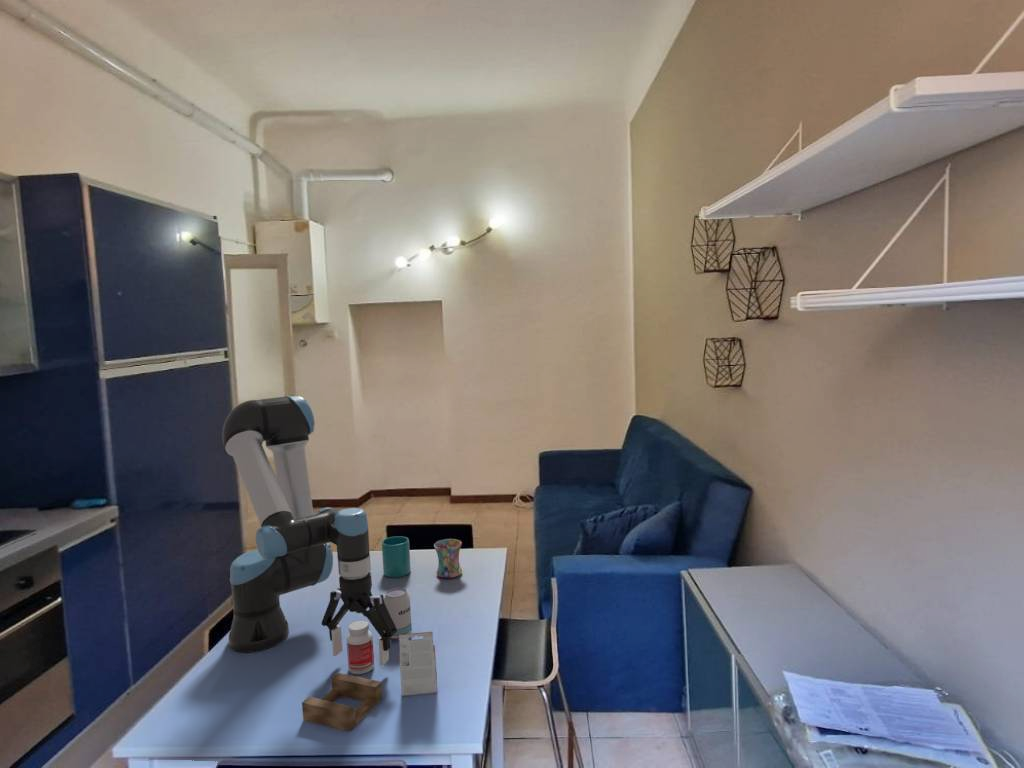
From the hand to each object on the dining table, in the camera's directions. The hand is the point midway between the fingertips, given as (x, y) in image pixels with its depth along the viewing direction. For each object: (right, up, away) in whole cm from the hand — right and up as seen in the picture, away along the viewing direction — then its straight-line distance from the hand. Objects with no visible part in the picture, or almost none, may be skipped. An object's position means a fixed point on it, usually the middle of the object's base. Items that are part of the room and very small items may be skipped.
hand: (360, 657), depth 152 cm
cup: (-2, +3, +60) cm, 60 cm away
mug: (+16, +3, +54) cm, 56 cm away
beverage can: (+6, -1, +16) cm, 17 cm away
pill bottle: (0, -3, 0) cm, 3 cm away
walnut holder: (0, -4, -16) cm, 16 cm away
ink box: (+16, -3, -10) cm, 19 cm away
